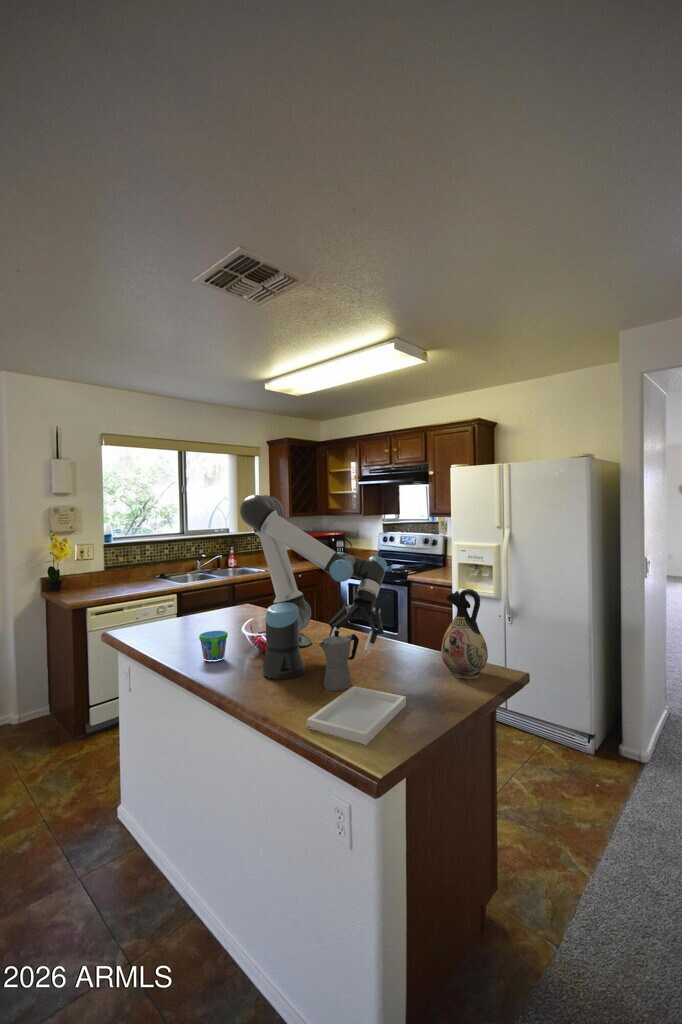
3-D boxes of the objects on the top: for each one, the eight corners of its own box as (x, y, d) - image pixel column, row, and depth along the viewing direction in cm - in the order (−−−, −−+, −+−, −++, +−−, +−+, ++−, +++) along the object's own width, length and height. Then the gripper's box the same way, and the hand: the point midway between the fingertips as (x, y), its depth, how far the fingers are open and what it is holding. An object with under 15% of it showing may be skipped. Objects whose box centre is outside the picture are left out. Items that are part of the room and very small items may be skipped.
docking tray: (307, 728, 120) (306, 719, 120) (353, 693, 142) (353, 685, 142) (366, 744, 111) (365, 734, 111) (406, 705, 133) (405, 696, 133)
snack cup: (201, 655, 183) (200, 629, 183) (228, 652, 185) (228, 627, 185) (198, 668, 168) (197, 640, 168) (227, 665, 170) (227, 638, 170)
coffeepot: (328, 695, 141) (327, 637, 141) (312, 686, 149) (311, 631, 148) (367, 683, 150) (366, 629, 150) (350, 675, 158) (349, 623, 157)
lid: (298, 639, 202) (298, 628, 202) (316, 643, 196) (315, 631, 196) (282, 646, 193) (282, 634, 193) (300, 649, 188) (300, 637, 188)
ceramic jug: (432, 676, 155) (431, 588, 155) (455, 664, 167) (453, 582, 167) (479, 688, 144) (478, 594, 144) (500, 675, 155) (499, 587, 155)
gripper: (402, 603, 160) (386, 659, 147) (340, 598, 172) (320, 649, 159) (396, 591, 155) (378, 648, 142) (332, 586, 167) (311, 638, 154)
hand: (347, 648), depth 151 cm, fingers open, 13 cm apart
